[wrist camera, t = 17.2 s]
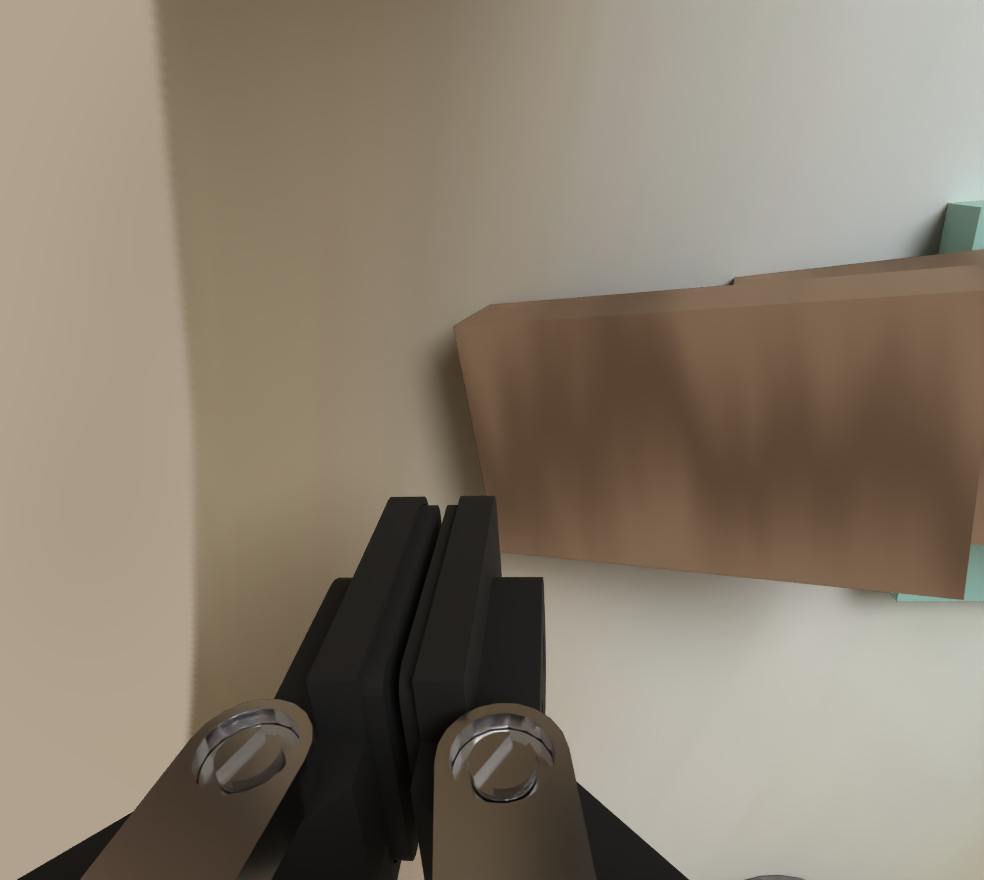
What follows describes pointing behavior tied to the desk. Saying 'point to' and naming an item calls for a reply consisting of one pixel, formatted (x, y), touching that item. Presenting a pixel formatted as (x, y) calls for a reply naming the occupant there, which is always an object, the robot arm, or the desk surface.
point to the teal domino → (961, 232)
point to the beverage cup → (775, 878)
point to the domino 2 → (980, 533)
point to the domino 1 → (740, 427)
